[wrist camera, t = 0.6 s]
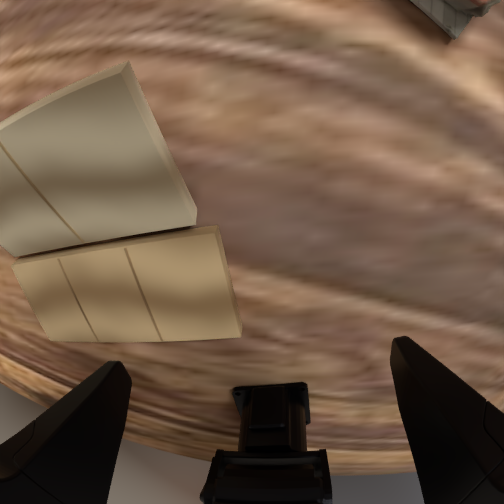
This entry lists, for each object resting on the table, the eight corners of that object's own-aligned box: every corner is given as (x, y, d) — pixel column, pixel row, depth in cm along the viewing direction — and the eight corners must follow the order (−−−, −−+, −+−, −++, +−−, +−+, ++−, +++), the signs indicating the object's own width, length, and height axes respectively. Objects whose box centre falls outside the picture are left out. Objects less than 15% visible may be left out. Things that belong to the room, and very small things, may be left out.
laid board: (242, 326, 23) (240, 337, 22) (56, 332, 26) (50, 341, 25) (218, 224, 20) (214, 233, 19) (18, 258, 22) (10, 266, 21)
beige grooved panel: (197, 209, 19) (195, 225, 18) (19, 244, 21) (14, 257, 21) (128, 60, 11) (119, 73, 10) (-58, 164, 13) (-67, 177, 12)
